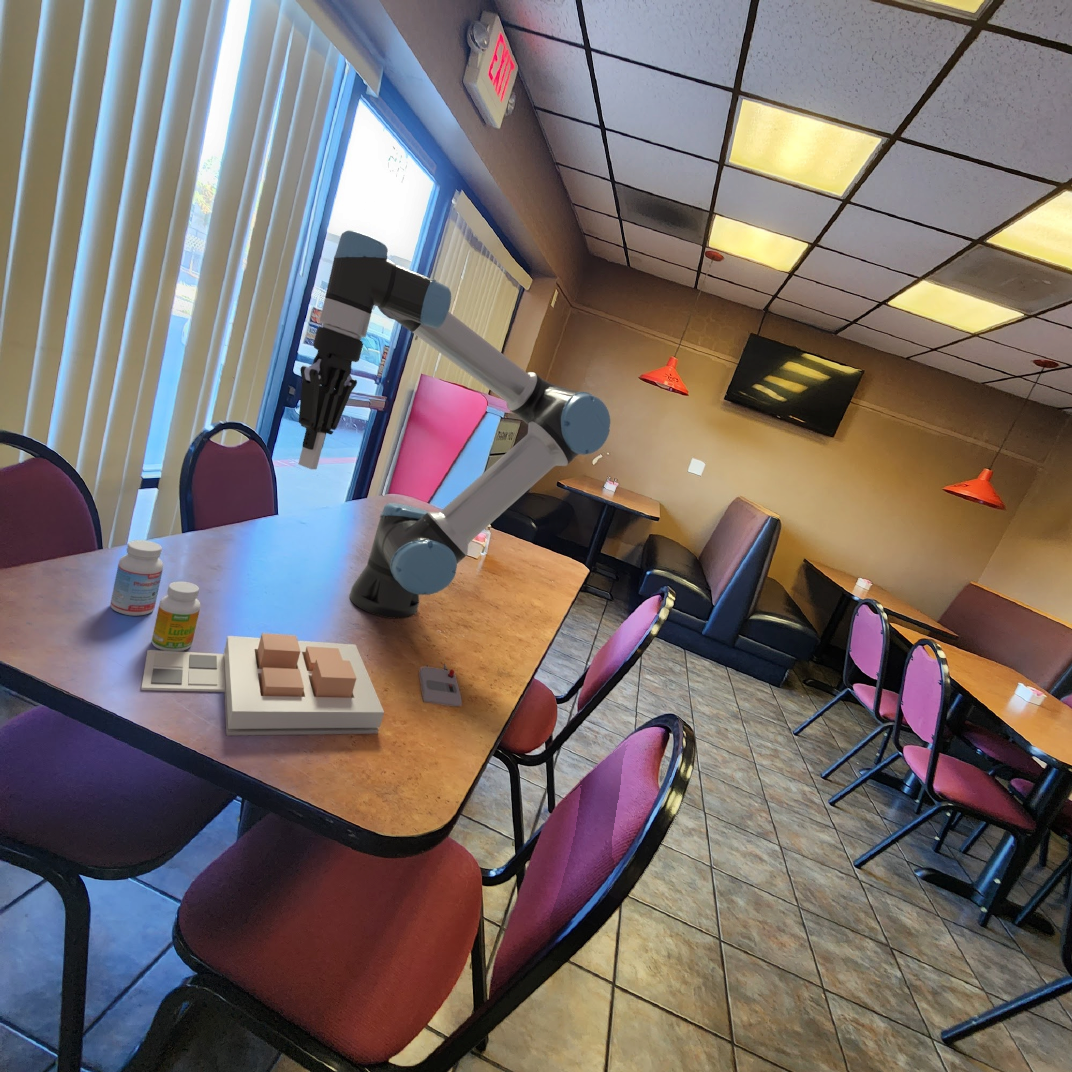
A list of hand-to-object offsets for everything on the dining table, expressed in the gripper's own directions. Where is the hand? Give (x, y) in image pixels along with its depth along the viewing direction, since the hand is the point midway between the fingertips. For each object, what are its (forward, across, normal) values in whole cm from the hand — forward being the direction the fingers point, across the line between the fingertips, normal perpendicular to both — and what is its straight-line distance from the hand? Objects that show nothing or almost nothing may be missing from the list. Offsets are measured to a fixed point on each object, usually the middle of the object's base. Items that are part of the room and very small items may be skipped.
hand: (307, 466), depth 102 cm
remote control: (+30, -4, +34) cm, 46 cm away
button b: (+26, +16, +14) cm, 34 cm away
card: (+29, +23, +5) cm, 38 cm away
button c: (+26, +16, +24) cm, 39 cm away
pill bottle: (+30, +16, -14) cm, 36 cm away
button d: (+28, +11, +19) cm, 36 cm away
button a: (+28, +21, +19) cm, 40 cm away
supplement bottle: (+30, +19, -2) cm, 35 cm away
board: (+29, +16, +19) cm, 39 cm away
